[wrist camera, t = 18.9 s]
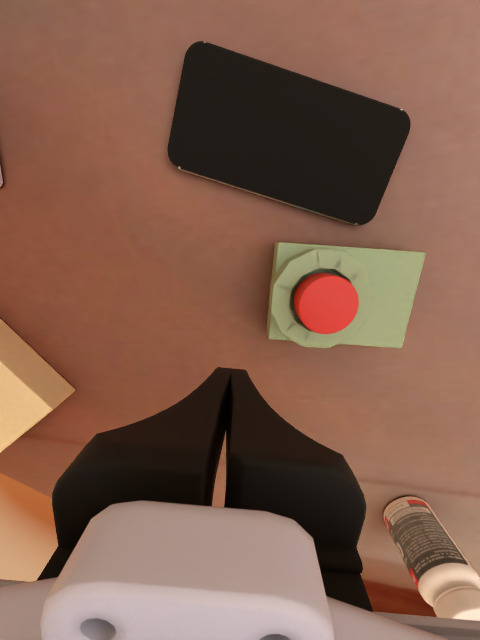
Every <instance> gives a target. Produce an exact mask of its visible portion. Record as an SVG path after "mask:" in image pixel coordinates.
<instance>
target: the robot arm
mask: <svg viewBox="0 0 480 640" xmlns="http://www.w3.org/2000/svg"><path fill="white" fill-rule="evenodd" d="M2 184H3V178H2V173H1V167H0V187H1V186H2ZM225 432H226V493H225V505H224V507H212V499H213V491H214V484H215V478H216V473H217V468H218V464H219V459H220V455H221V450H222V445H223V441H224V436H225ZM52 507H53V512H54V520H55V526H56V533H57V539H58V548H57V549H56V551H55V552H54V554H53V555H52V557H51V559H50V560H49V562H48V563H47V565H46V567H45V568H44V570H43V572H42V573H41V575H40V576H39V578H38V579H37V581H33V582H24V581H12V580H1V579H0V640H480V621H474V620H463V619H451V618H440V617H428V616H416V615H405V614H393V613H382V612H373V610H372V607H371V604H370V601H369V598H368V595H367V592H366V589H365V587H364V584H363V581H362V578H361V575H360V573H362V570H363V567H362V562H361V559H360V556H359V554H358V551H357V548H356V547H357V543H358V540H359V536H360V533H361V529H362V526H363V522H364V519H365V513H366V503H365V498H364V494H363V492H362V490H361V488H360V486H359V484H358V482H357V480H356V478H355V476H354V474H353V472H352V470H351V469H350V467H349V465H348V464H347V462H346V460H345V459H344V457H343V455H341V454H339V453H337V452H335V451H333V450H331V449H329V448H327V447H325V446H323V445H321V444H319V443H317V442H316V441H314V440H312V439H311V438H309V437H308V436H306V435H304V434H303V433H301V432H300V431H298V430H297V429H295V428H294V427H293V426H291V425H290V424H289V423H288V422H286V421H285V420H284V419H283V418H281V417H280V416H279V415H278V414H277V413H276V412H275V411H274V410H273V409H272V408H271V407H270V406H269V405H268V404H267V402H266V401H265V400H264V399H263V397H262V396H261V395H260V393H259V392H258V390H257V389H256V387H255V386H254V384H253V383H252V381H251V379H250V377H249V375H248V373H247V371H246V370H243V369H231V368H220V367H218V368H217V369H215V371H214V372H213V373H212V374H211V375H210V376H209V377H208V378H207V379H206V380H205V381H204V382H203V383H202V384H201V385H200V386H199V387H198V388H197V389H196V390H194V391H193V392H192V393H191V394H189V395H188V396H187V397H186V398H184V399H183V400H181V401H180V402H178V403H177V404H175V405H173V406H171V407H170V408H168V409H166V410H164V411H162V412H160V413H158V414H156V415H154V416H151V417H149V418H146V419H144V420H141V421H139V422H136V423H133V424H130V425H127V426H124V427H120V428H117V429H113V430H110V431H106V432H102V433H98V434H96V435H95V436H94V438H93V439H92V440H91V441H90V442H89V443H88V444H87V445H86V446H85V447H84V448H83V450H82V451H81V452H80V453H79V455H78V456H77V457H76V458H75V460H74V461H73V462H72V463H71V465H70V466H69V467H68V468H67V470H66V471H65V472H64V473H63V475H62V476H61V477H60V478H59V480H58V481H57V483H56V485H55V488H54V490H53V493H52Z"/></svg>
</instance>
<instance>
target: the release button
mask: <svg viewBox="0 0 480 640" xmlns="http://www.w3.org/2000/svg"><path fill="white" fill-rule="evenodd" d="M293 303H294V309H295V312H296V314H297V315H298V317H299V318H300V320H301V321H302V322H303V324H304V325H305V326H306V327H307V328H308V329H310V330H312V331H313V332H316V333H320V334H332V333H336V332H338V331H341V330H343V329H344V328H346V327H347V326H348V325H349V324H350V323H351V322H352V320H353V319H354V317H355V316H356V313H357V310H358V305H359V299H358V294H357V292H356V289H355V288H354V286H353V285H352V284H351V283H350V282H349V281H348V280H346V279H344V278H342V277H339V276H336V275H333V274H330V273H317V274H313V275H311V276H309V277H307V278H306V279H304V280H303V281H302V282H301V283H300V285H299V286H298V287H297V289H296V291H295V294H294V300H293Z"/></svg>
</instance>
